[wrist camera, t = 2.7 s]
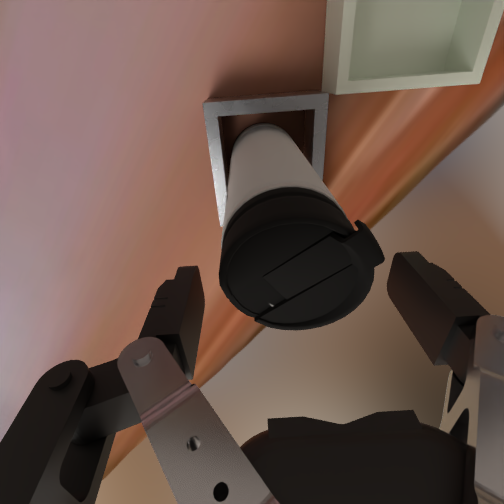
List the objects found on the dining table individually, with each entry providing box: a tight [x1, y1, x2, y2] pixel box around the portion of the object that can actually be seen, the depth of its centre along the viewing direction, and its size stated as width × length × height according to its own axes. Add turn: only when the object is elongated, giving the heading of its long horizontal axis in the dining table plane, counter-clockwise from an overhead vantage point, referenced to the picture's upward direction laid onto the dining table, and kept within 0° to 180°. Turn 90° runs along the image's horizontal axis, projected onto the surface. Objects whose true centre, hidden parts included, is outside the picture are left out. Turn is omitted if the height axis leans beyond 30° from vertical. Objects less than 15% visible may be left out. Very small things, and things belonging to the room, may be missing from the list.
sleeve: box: [203, 90, 329, 226], centre depth 26 cm, size 11×10×4 cm
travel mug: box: [219, 123, 385, 330], centre depth 19 cm, size 6×7×20 cm
